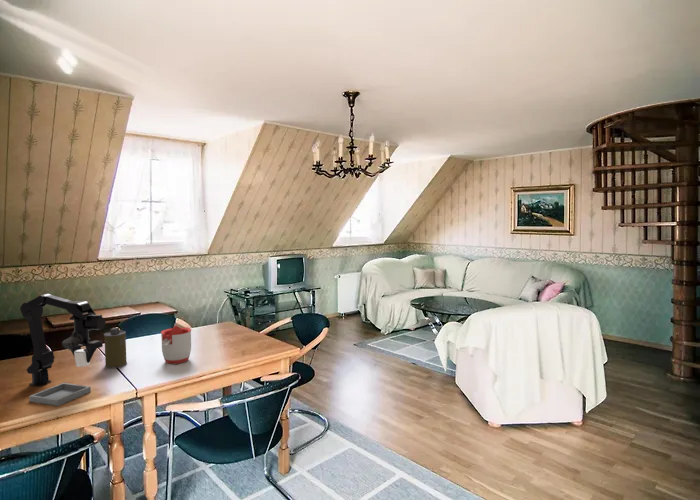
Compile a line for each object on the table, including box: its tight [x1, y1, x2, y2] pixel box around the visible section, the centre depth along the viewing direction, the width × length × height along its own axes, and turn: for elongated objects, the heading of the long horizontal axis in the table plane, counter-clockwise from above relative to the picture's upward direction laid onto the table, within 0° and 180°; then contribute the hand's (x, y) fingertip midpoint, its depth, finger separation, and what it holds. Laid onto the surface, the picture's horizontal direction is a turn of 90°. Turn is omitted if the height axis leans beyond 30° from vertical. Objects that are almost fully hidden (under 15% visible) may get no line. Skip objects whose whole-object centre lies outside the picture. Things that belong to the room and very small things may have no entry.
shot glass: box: [73, 347, 91, 368], centre depth 205 cm, size 7×7×7 cm
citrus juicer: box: [160, 325, 192, 365], centre depth 240 cm, size 16×17×20 cm
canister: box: [103, 327, 128, 369], centre depth 235 cm, size 11×10×20 cm
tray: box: [28, 382, 92, 407], centre depth 193 cm, size 16×16×2 cm
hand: (82, 361), depth 205 cm, fingers closed on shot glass, 6 cm apart
